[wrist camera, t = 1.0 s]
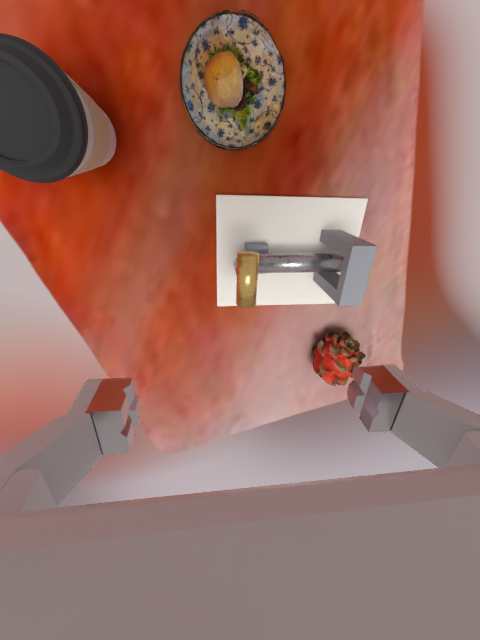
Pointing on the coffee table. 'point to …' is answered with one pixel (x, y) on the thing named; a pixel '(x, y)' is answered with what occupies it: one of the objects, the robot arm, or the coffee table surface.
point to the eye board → (294, 246)
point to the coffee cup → (47, 118)
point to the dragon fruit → (337, 358)
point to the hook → (277, 269)
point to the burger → (232, 80)
